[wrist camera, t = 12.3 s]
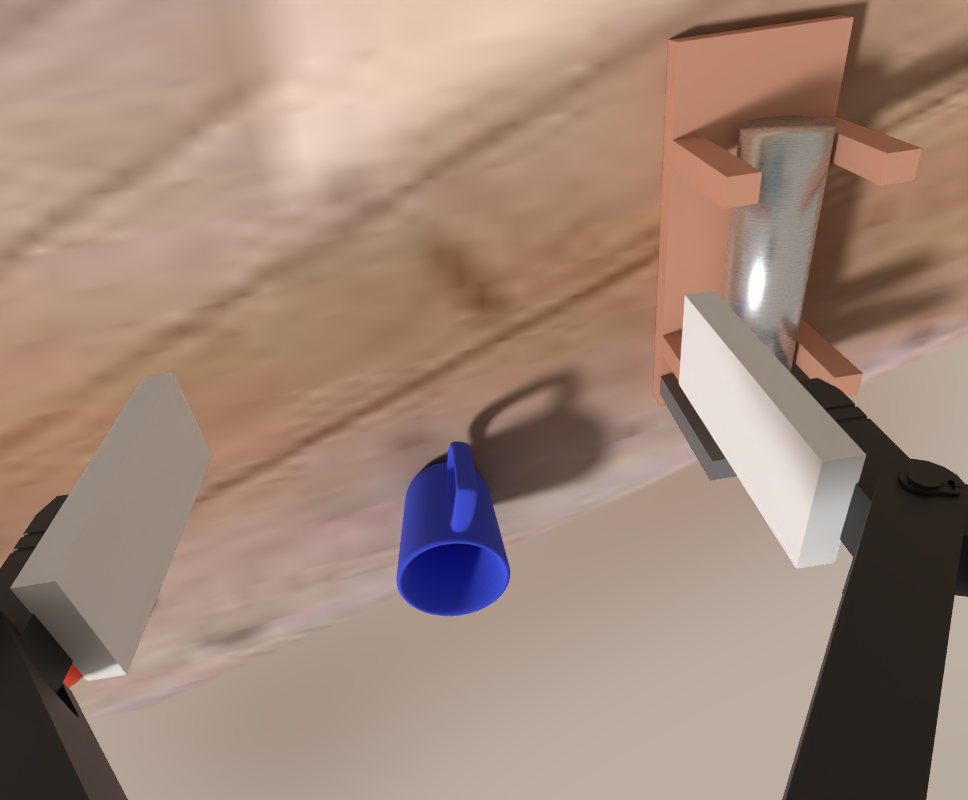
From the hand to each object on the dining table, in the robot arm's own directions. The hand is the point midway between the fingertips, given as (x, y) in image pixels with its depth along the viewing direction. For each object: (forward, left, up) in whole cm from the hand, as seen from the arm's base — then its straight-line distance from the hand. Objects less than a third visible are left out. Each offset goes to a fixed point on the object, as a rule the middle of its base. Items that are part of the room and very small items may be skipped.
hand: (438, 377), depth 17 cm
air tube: (+11, +19, -25) cm, 33 cm away
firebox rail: (+9, +20, -27) cm, 35 cm away
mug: (+26, -2, -27) cm, 37 cm away
